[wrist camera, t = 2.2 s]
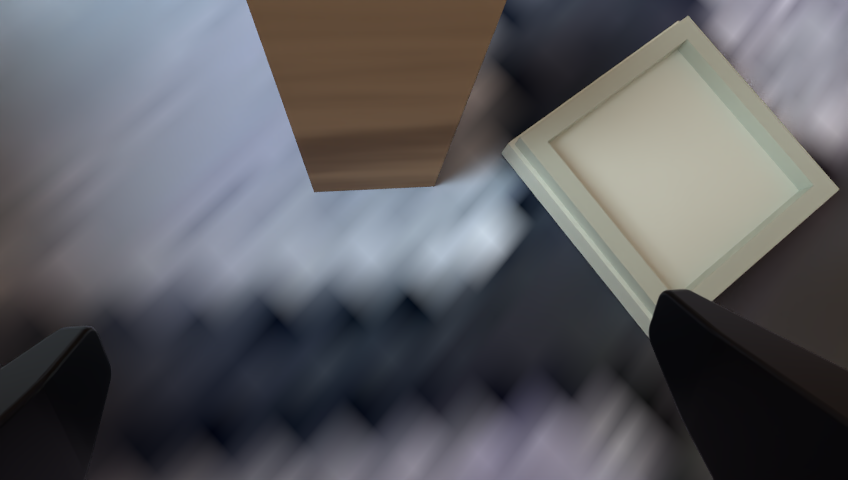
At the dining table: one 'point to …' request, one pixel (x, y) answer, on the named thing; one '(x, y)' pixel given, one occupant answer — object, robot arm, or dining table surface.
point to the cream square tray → (669, 172)
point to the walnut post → (374, 82)
